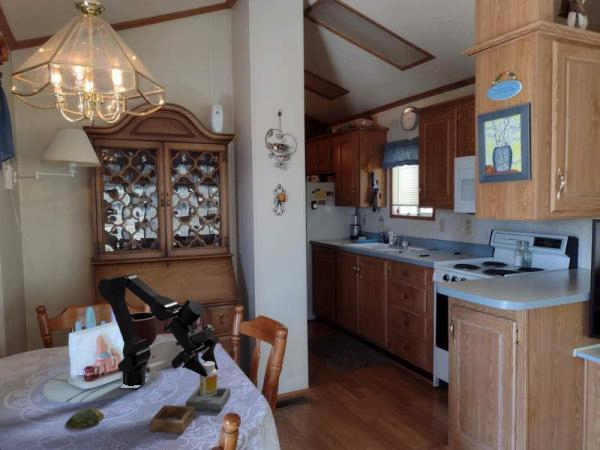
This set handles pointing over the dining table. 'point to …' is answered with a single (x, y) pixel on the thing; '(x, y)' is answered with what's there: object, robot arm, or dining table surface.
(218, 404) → the charcoal tray
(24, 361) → the dining table surface
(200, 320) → the supplement box
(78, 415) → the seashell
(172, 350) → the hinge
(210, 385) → the supplement bottle
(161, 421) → the walnut collar
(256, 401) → the dining table surface
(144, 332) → the mate gourd
